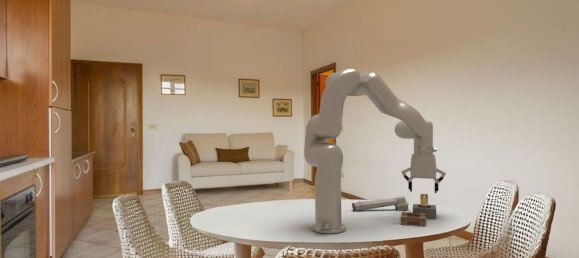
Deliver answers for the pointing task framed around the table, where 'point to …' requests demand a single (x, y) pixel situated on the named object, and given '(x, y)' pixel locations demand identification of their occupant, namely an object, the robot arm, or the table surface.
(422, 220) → the walnut mount
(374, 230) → the table surface
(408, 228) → the table surface
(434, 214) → the charcoal dock
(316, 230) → the robot arm
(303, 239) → the table surface
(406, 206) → the light grey piece
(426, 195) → the brass pin
